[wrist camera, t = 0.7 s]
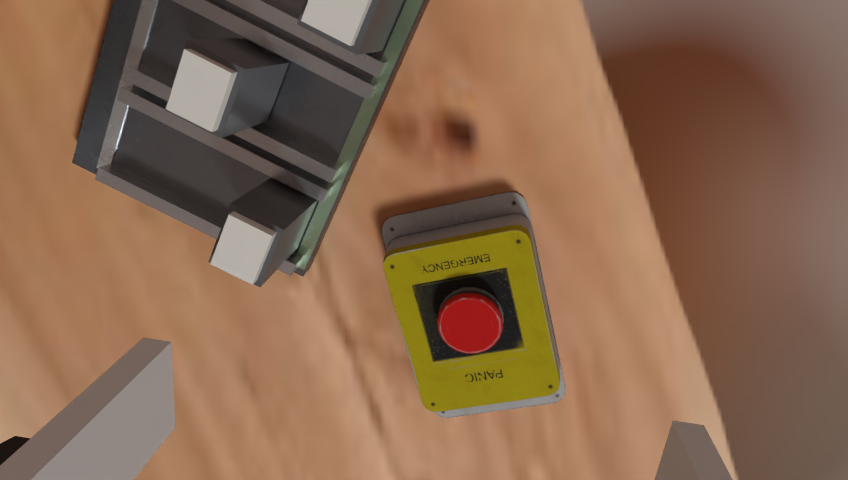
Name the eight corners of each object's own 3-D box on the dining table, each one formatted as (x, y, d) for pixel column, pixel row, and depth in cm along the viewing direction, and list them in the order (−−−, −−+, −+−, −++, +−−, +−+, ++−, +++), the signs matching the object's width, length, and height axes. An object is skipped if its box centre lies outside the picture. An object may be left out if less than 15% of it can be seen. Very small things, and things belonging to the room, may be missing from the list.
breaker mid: (220, 97, 34) (158, 111, 28) (240, 38, 33) (180, 39, 27) (267, 121, 34) (215, 140, 28) (289, 62, 33) (240, 70, 27)
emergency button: (526, 205, 32) (574, 436, 36) (524, 186, 36) (567, 395, 40) (364, 239, 34) (428, 455, 38) (379, 216, 38) (435, 414, 42)
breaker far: (253, 226, 37) (203, 266, 31) (273, 176, 36) (225, 206, 29) (297, 248, 37) (255, 291, 31) (318, 198, 36) (279, 233, 30)
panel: (87, 157, 39) (55, 167, 36) (175, -174, 32) (143, -194, 29) (310, 267, 39) (295, 285, 36) (444, -35, 32) (439, -41, 29)
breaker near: (332, 25, 32) (292, 24, 26) (358, -41, 31) (322, -59, 25) (382, 50, 32) (353, 55, 26) (410, -15, 31) (387, -26, 25)
